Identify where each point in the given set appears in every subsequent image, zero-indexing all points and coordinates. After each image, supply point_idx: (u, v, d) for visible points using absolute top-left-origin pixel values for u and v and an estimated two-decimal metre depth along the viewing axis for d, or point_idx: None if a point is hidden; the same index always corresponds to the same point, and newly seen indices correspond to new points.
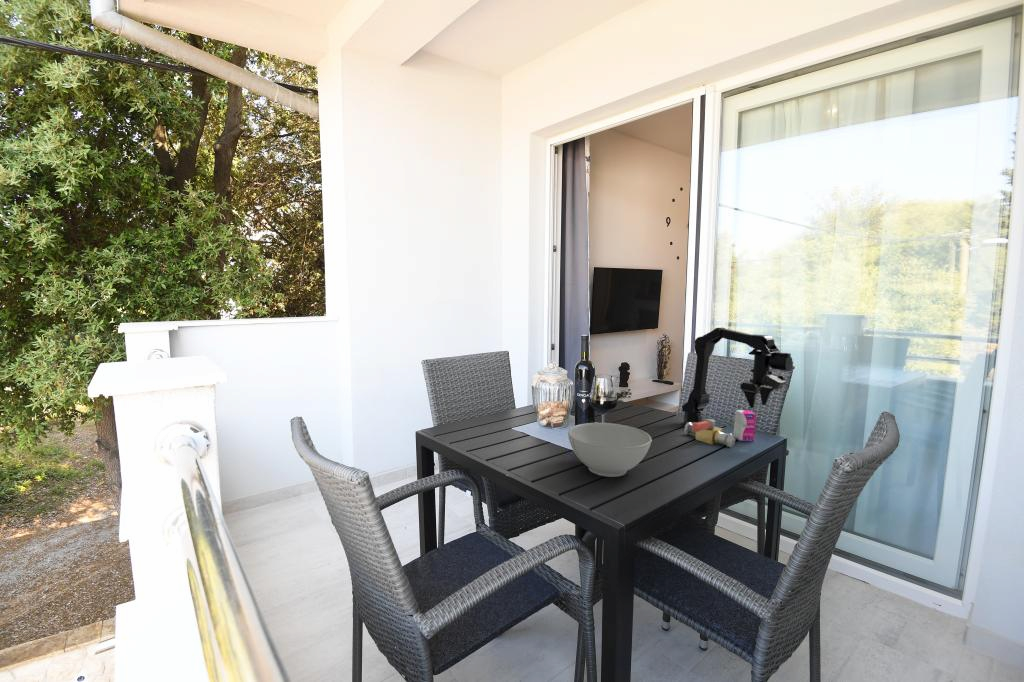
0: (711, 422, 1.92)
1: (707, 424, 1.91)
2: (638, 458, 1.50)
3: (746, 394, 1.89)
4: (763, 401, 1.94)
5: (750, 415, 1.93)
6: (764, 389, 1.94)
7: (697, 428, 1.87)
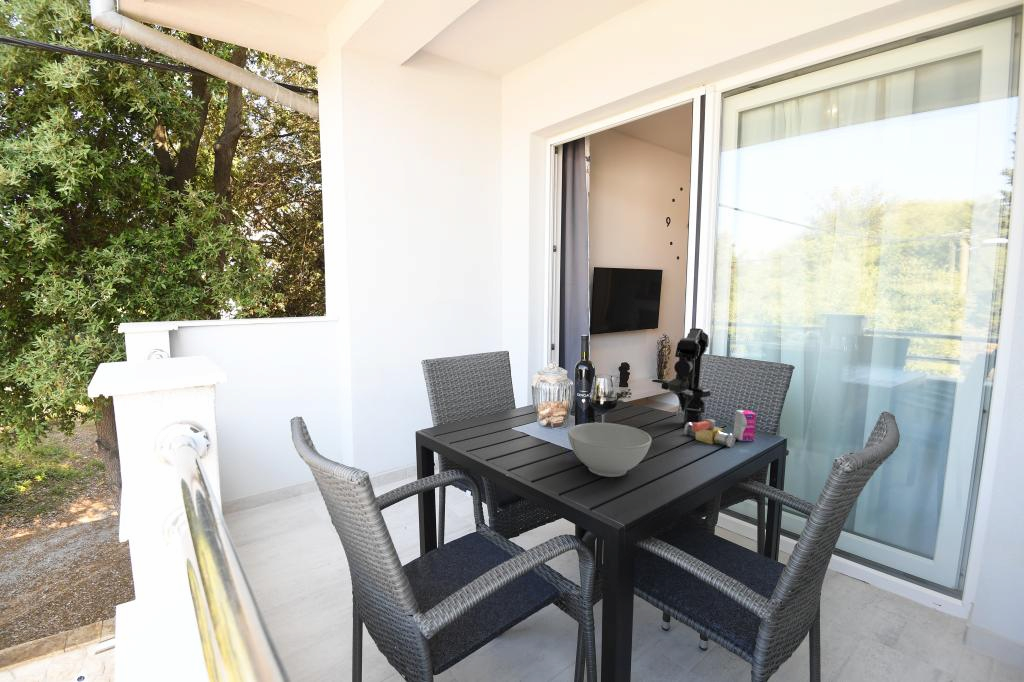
0: (711, 422, 1.92)
1: (707, 424, 1.91)
2: (638, 458, 1.50)
3: None
4: None
5: (750, 415, 1.93)
6: None
7: (697, 428, 1.87)
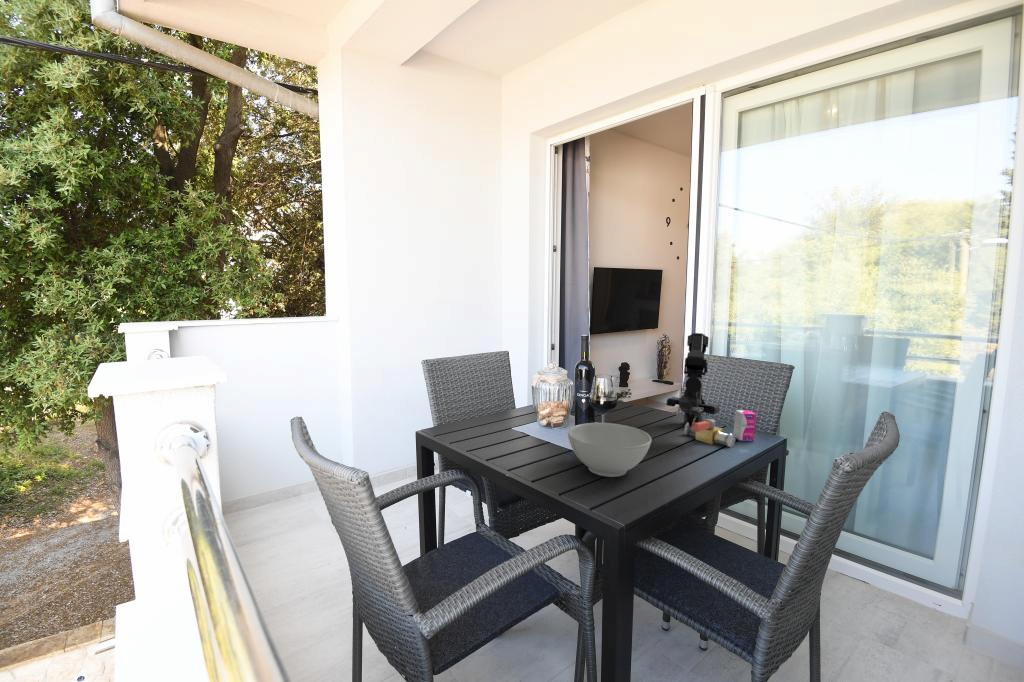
0: (711, 422, 1.92)
1: (707, 424, 1.91)
2: (638, 458, 1.50)
3: None
4: None
5: (750, 415, 1.93)
6: None
7: (698, 428, 1.87)
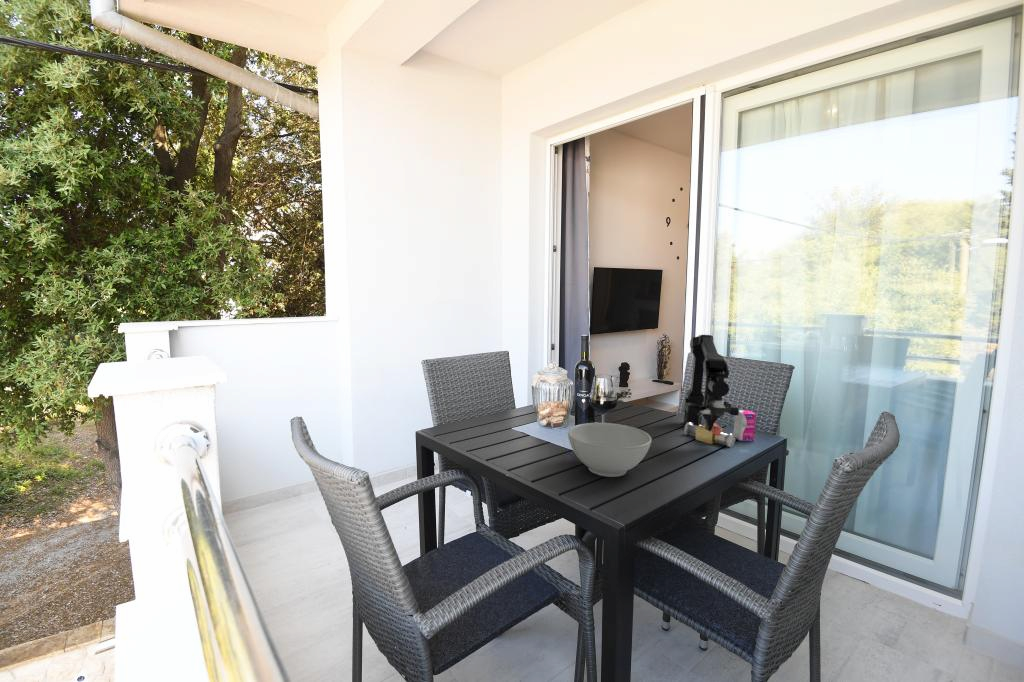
0: None
1: None
2: (638, 458, 1.50)
3: (704, 416, 1.87)
4: None
5: (750, 415, 1.93)
6: (711, 414, 1.85)
7: None
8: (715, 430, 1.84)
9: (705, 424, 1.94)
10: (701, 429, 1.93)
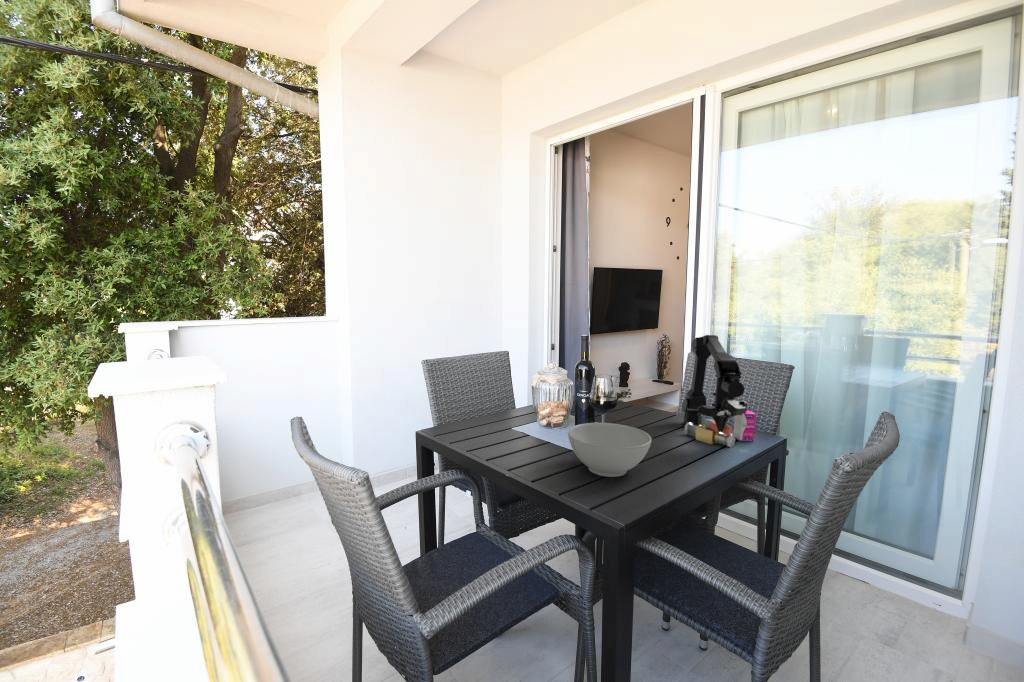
0: (714, 421, 1.93)
1: None
2: (638, 458, 1.50)
3: (714, 417, 1.85)
4: None
5: (750, 415, 1.93)
6: None
7: None
8: (727, 430, 1.84)
9: (706, 425, 1.93)
10: (701, 429, 1.93)
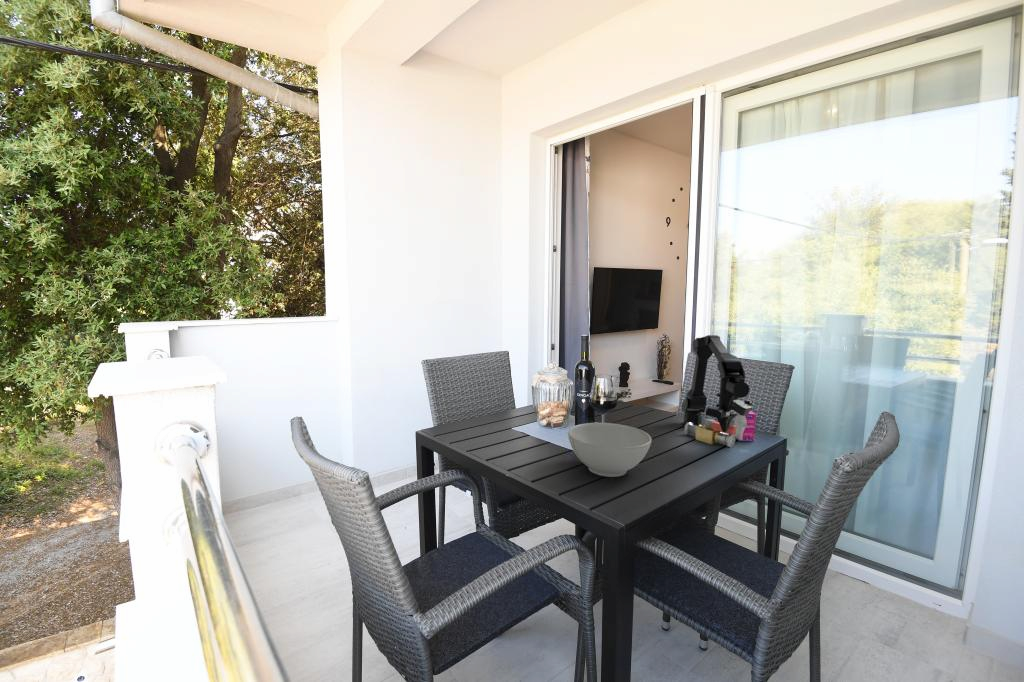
0: None
1: None
2: (638, 458, 1.50)
3: (718, 418, 1.84)
4: None
5: (750, 415, 1.93)
6: None
7: None
8: (732, 430, 1.85)
9: (708, 425, 1.92)
10: (701, 429, 1.93)
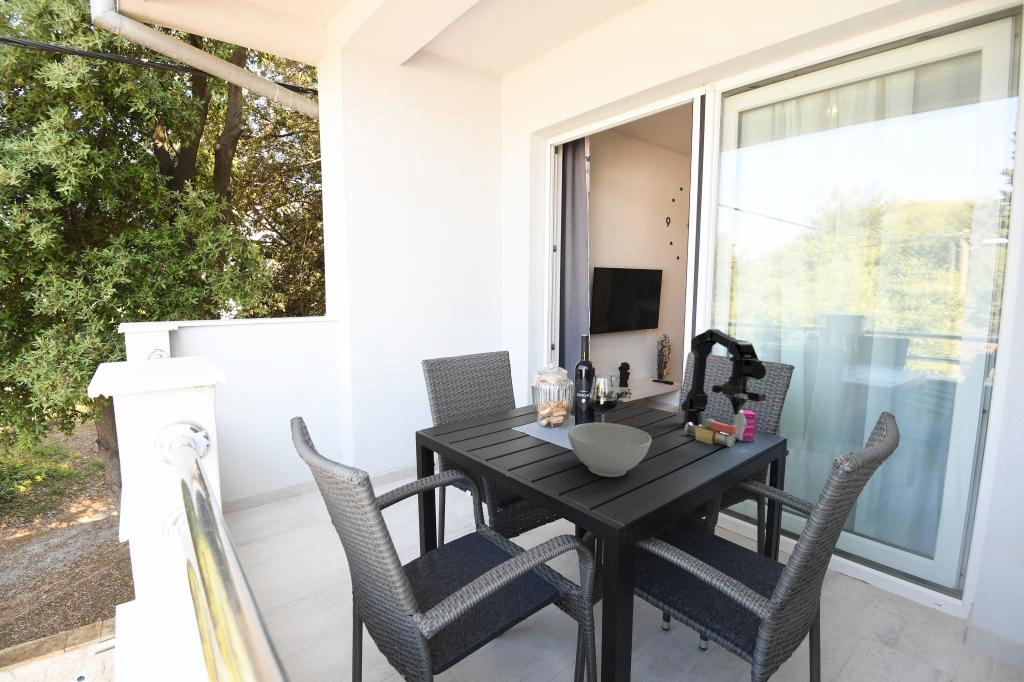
0: None
1: None
2: (638, 458, 1.50)
3: None
4: None
5: (750, 415, 1.93)
6: None
7: None
8: (732, 430, 1.85)
9: (708, 425, 1.92)
10: (701, 429, 1.93)
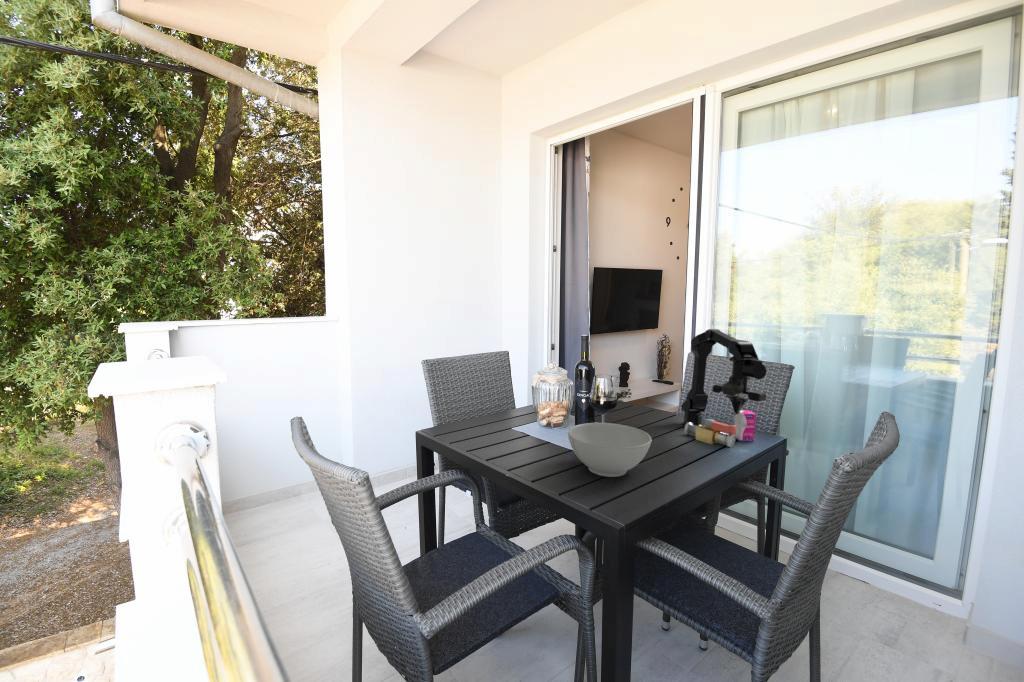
0: None
1: None
2: (638, 458, 1.50)
3: None
4: None
5: (750, 415, 1.93)
6: None
7: None
8: (732, 430, 1.85)
9: (708, 425, 1.92)
10: (701, 429, 1.93)
